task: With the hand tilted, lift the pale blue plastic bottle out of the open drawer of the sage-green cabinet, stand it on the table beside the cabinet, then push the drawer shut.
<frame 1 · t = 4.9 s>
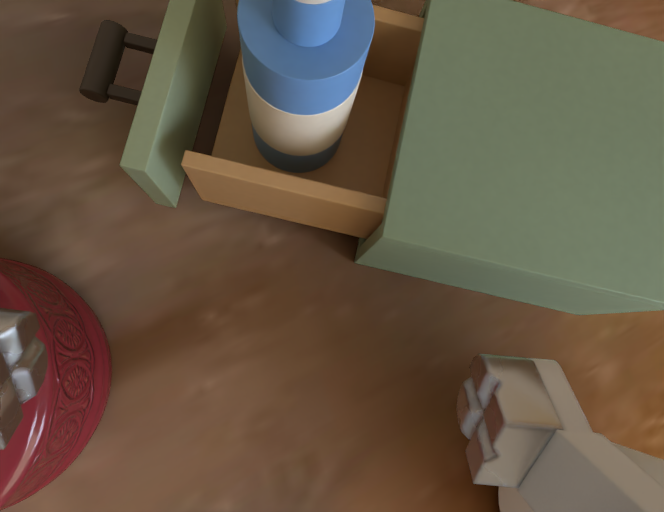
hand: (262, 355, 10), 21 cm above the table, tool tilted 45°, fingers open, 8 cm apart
pill bottle: (555, 494, 30), on the table
bottle: (297, 130, 30), point 2 cm above the table, touching drawer
cabinet: (485, 190, 33), on the table
drawer: (257, 103, 27), point 4 cm above the table, slide at 11.0 cm, touching bottle
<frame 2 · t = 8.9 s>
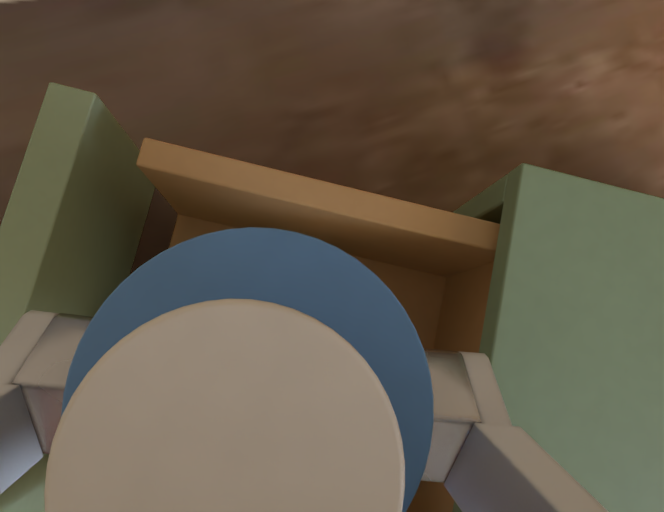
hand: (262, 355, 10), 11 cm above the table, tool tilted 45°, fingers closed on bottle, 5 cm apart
bottle: (269, 363, 18), point 2 cm above the table, touching drawer, gripper
cabinet: (567, 424, 21), on the table
drawer: (194, 351, 15), point 4 cm above the table, slide at 10.9 cm, touching bottle
when the fingers open (8 cm above the table, at t = 17.0 s): bottle stays where it is, on the table.
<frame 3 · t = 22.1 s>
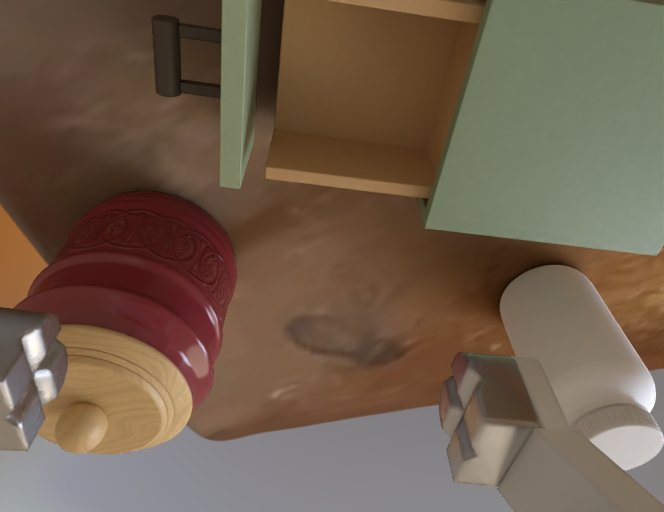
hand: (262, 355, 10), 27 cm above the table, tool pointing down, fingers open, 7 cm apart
pill bottle: (541, 296, 45), on the table
cabinet: (535, 87, 34), on the table
drawer: (314, 75, 29), point 4 cm above the table, slide at 10.9 cm
kitchen canister: (160, 254, 42), on the table
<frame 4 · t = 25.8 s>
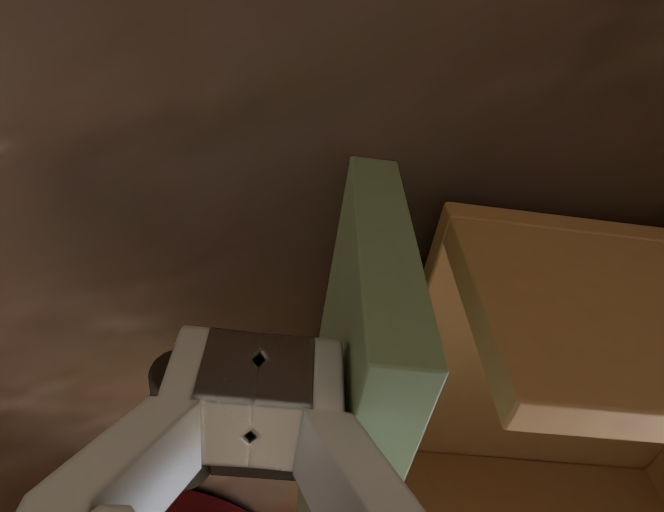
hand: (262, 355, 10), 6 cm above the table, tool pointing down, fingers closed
drawer: (491, 433, 14), point 4 cm above the table, slide at 10.7 cm, touching gripper
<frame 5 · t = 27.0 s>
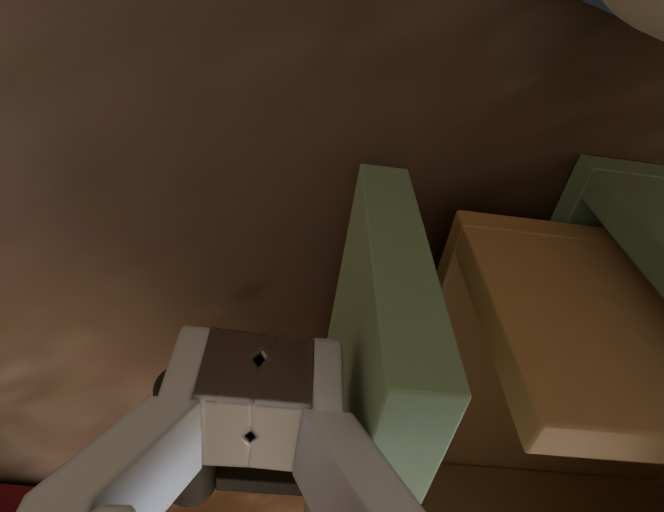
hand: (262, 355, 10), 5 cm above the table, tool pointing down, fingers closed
drawer: (503, 447, 13), point 4 cm above the table, slide at 4.5 cm, touching gripper
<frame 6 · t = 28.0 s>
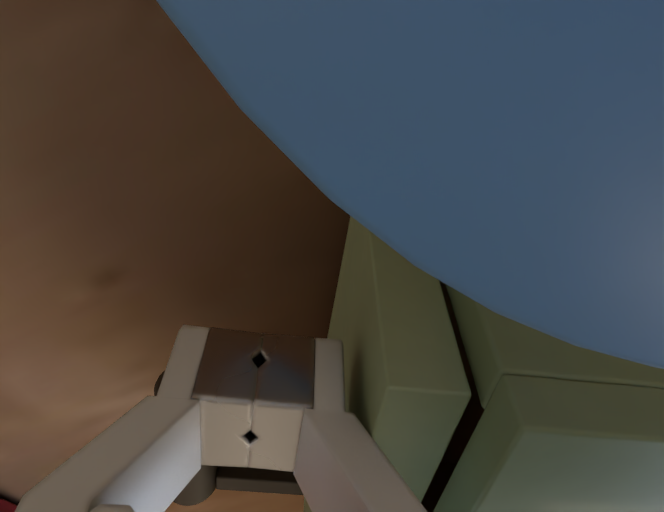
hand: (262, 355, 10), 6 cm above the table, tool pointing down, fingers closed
cabinet: (579, 341, 17), on the table
drawer: (503, 446, 13), point 4 cm above the table, slide at 0.2 cm, touching gripper
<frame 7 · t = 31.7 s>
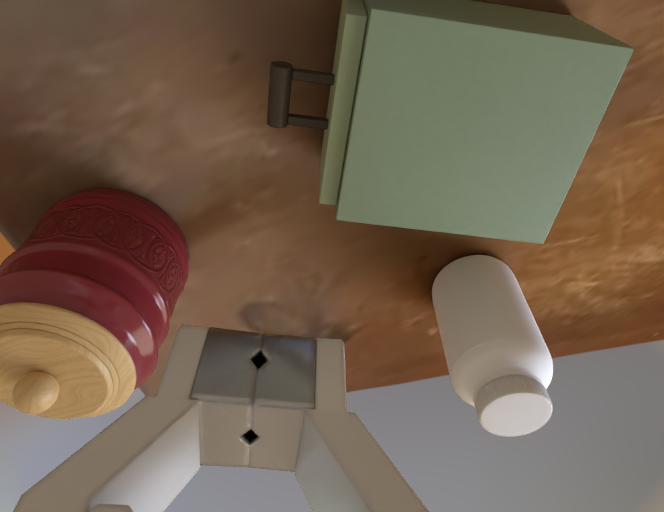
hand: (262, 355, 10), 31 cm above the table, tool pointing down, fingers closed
pill bottle: (470, 284, 49), on the table
cabinet: (443, 96, 38), on the table
drawer: (400, 109, 34), point 4 cm above the table, slide at 0.0 cm
kitchen canister: (121, 246, 46), on the table
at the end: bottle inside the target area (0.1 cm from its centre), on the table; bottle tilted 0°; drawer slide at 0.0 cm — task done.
